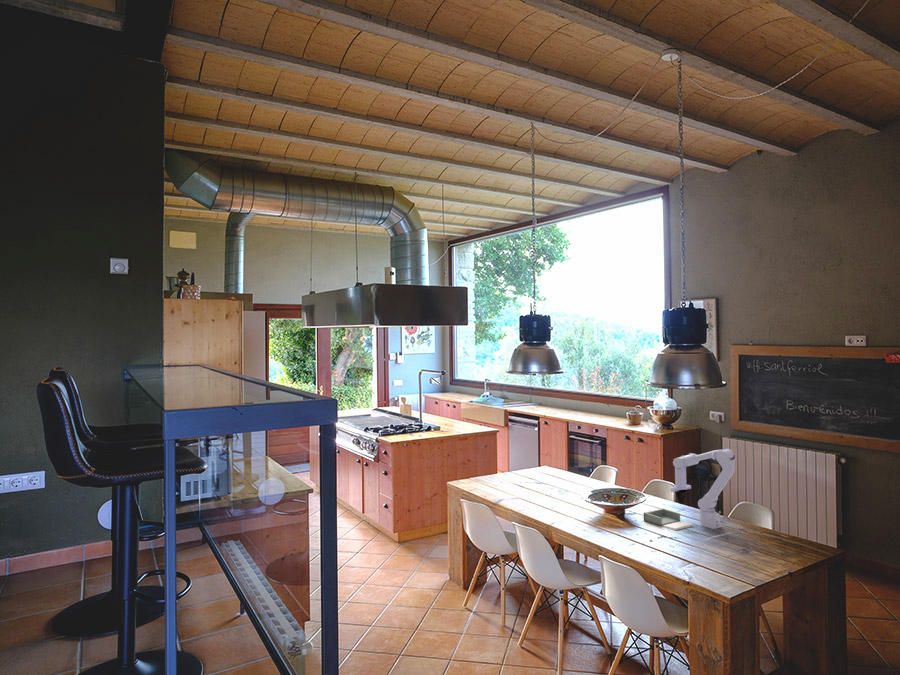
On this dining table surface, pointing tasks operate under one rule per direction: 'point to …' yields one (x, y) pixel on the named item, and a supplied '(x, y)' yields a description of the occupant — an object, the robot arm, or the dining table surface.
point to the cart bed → (661, 517)
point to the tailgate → (678, 525)
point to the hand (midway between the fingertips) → (681, 503)
